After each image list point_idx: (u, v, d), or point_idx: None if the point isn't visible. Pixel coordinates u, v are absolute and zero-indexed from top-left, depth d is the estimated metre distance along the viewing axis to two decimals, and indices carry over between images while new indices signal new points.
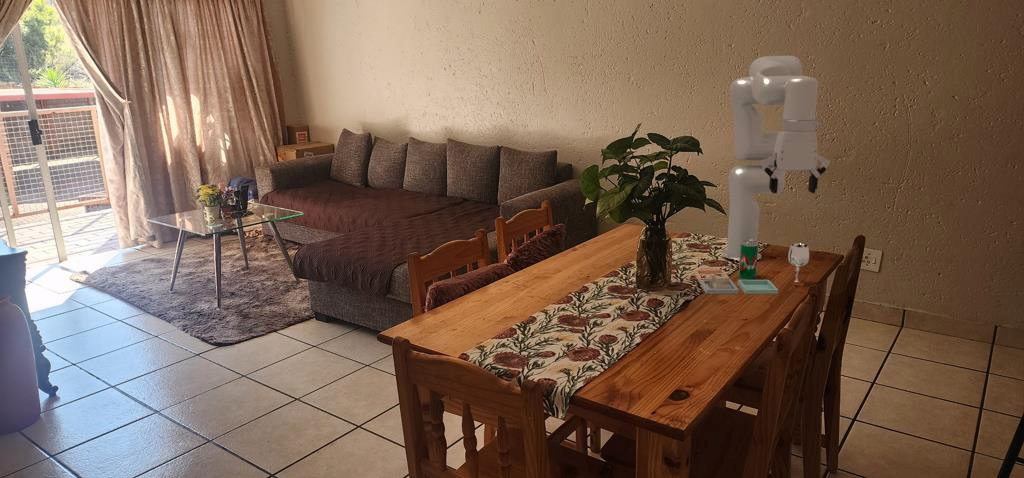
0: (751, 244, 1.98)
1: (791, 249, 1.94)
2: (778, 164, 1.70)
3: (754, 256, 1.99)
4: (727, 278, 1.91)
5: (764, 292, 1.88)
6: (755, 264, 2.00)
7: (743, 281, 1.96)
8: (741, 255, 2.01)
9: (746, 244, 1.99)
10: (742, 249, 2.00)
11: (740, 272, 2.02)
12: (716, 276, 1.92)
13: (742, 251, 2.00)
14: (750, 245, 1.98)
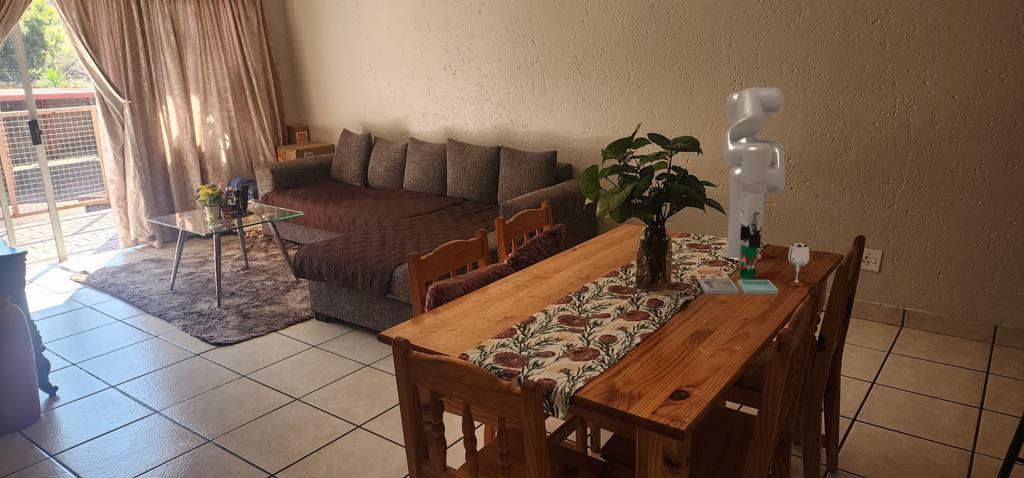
0: None
1: (791, 249, 1.94)
2: (762, 221, 1.93)
3: (754, 256, 1.99)
4: (727, 278, 1.91)
5: (764, 292, 1.88)
6: (755, 264, 2.00)
7: (743, 281, 1.96)
8: (741, 255, 2.01)
9: (746, 244, 1.99)
10: (742, 249, 2.00)
11: (740, 272, 2.02)
12: (716, 276, 1.92)
13: (742, 251, 2.00)
14: None
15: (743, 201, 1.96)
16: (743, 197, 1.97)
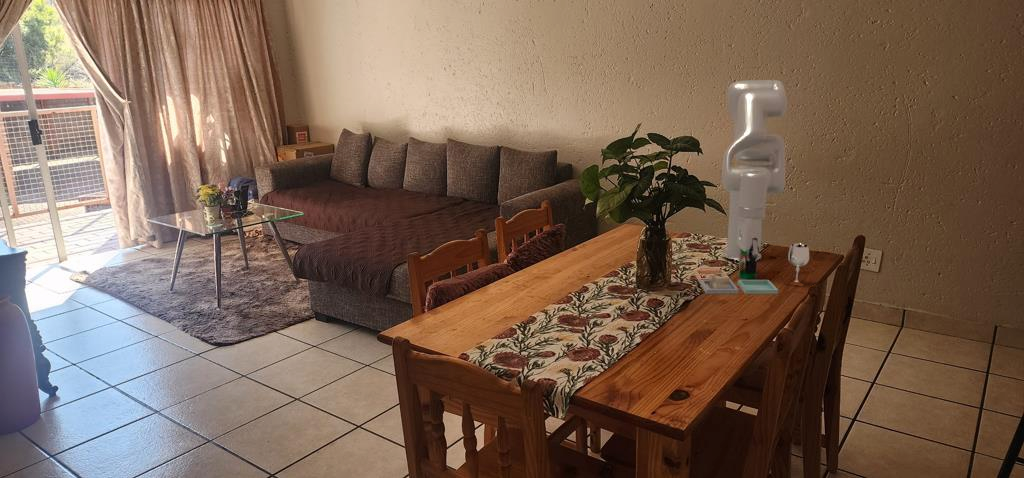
0: None
1: (791, 249, 1.94)
2: (760, 246, 1.96)
3: None
4: (727, 278, 1.91)
5: (764, 292, 1.88)
6: None
7: (743, 281, 1.96)
8: (741, 255, 2.01)
9: None
10: None
11: (740, 272, 2.02)
12: (716, 276, 1.92)
13: (742, 251, 2.00)
14: None
15: (741, 226, 1.99)
16: (741, 222, 1.99)
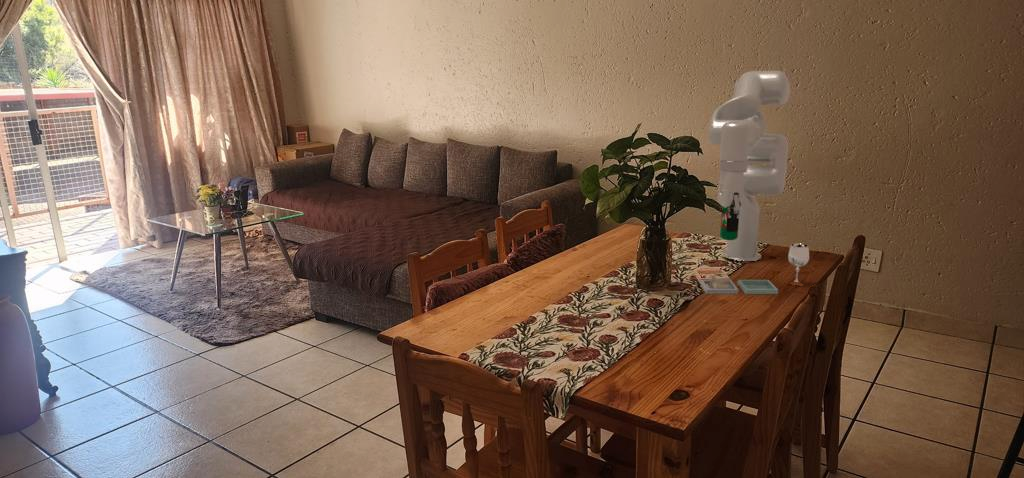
0: None
1: (791, 249, 1.94)
2: (742, 202, 1.84)
3: None
4: (727, 278, 1.91)
5: (764, 292, 1.88)
6: None
7: (743, 281, 1.96)
8: None
9: None
10: None
11: (721, 231, 1.90)
12: (716, 276, 1.92)
13: (724, 208, 1.88)
14: None
15: (722, 181, 1.87)
16: (722, 177, 1.87)
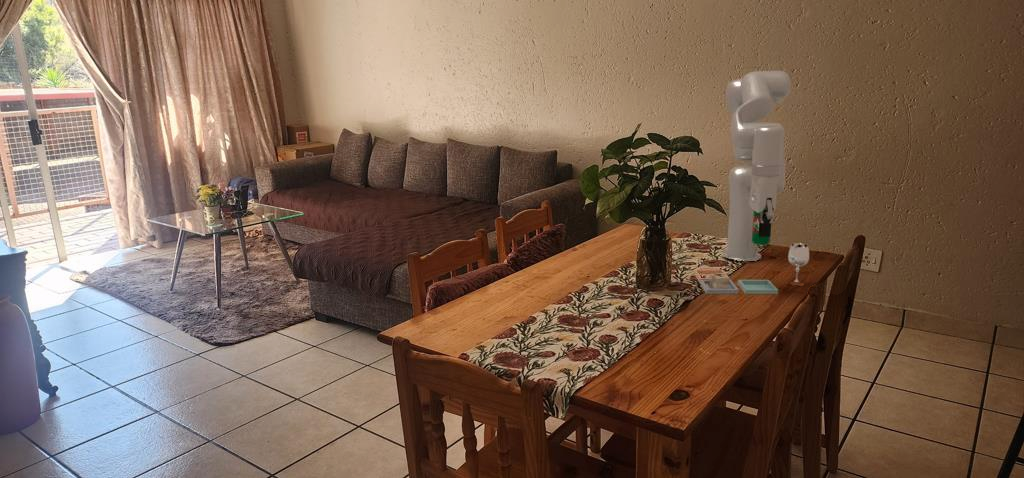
0: None
1: (791, 249, 1.94)
2: (775, 207, 1.81)
3: None
4: (727, 278, 1.91)
5: (764, 292, 1.88)
6: None
7: (743, 281, 1.96)
8: (754, 217, 1.87)
9: None
10: None
11: (753, 236, 1.88)
12: (716, 276, 1.92)
13: (756, 213, 1.86)
14: None
15: (755, 185, 1.84)
16: (755, 181, 1.85)
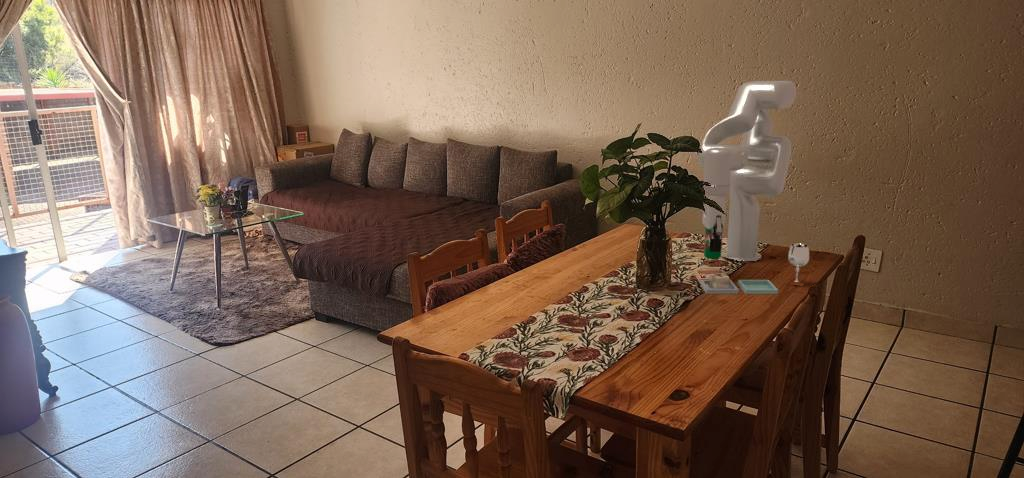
0: None
1: (791, 249, 1.94)
2: (724, 224, 1.94)
3: None
4: (727, 278, 1.91)
5: (764, 292, 1.88)
6: None
7: (743, 281, 1.96)
8: (706, 233, 1.99)
9: None
10: None
11: (705, 250, 2.00)
12: (716, 276, 1.92)
13: (707, 229, 1.98)
14: None
15: (706, 204, 1.97)
16: None
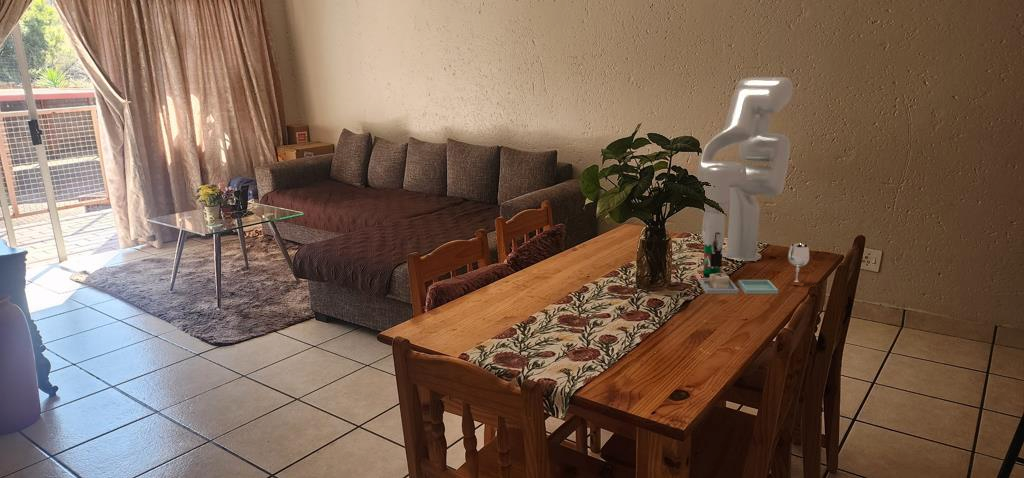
0: (714, 243, 1.98)
1: (791, 249, 1.94)
2: (723, 241, 1.95)
3: None
4: (727, 278, 1.91)
5: (764, 292, 1.88)
6: None
7: (743, 281, 1.96)
8: (705, 254, 2.01)
9: None
10: (705, 247, 2.00)
11: (704, 271, 2.02)
12: (716, 276, 1.92)
13: (706, 250, 2.00)
14: None
15: (705, 220, 1.98)
16: (705, 216, 1.98)
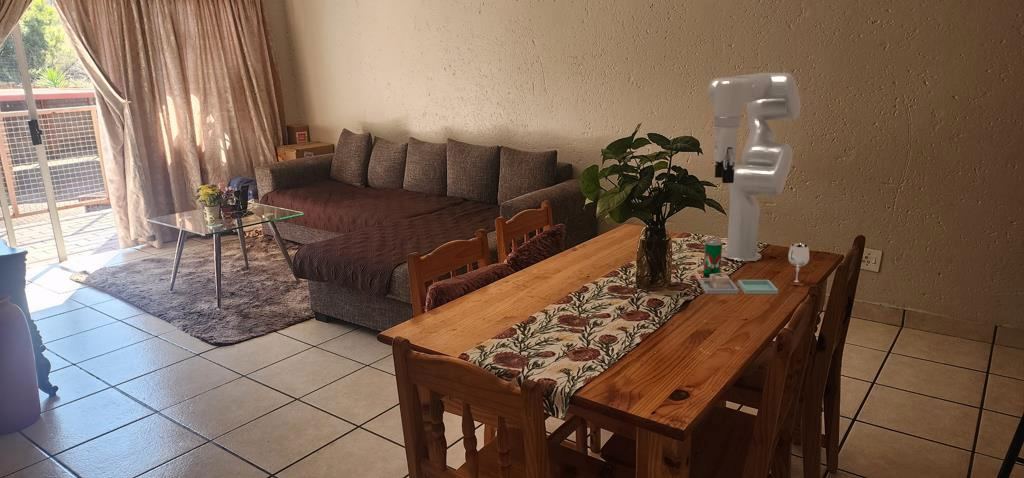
0: (715, 243, 1.98)
1: (791, 249, 1.94)
2: (735, 156, 1.92)
3: (718, 255, 1.99)
4: (727, 278, 1.91)
5: (764, 292, 1.88)
6: (719, 263, 2.00)
7: (743, 281, 1.96)
8: (705, 254, 2.01)
9: (710, 243, 1.99)
10: (706, 247, 2.00)
11: (704, 271, 2.02)
12: (716, 276, 1.92)
13: (706, 250, 2.00)
14: (714, 244, 1.98)
15: (717, 137, 1.95)
16: (717, 133, 1.96)
